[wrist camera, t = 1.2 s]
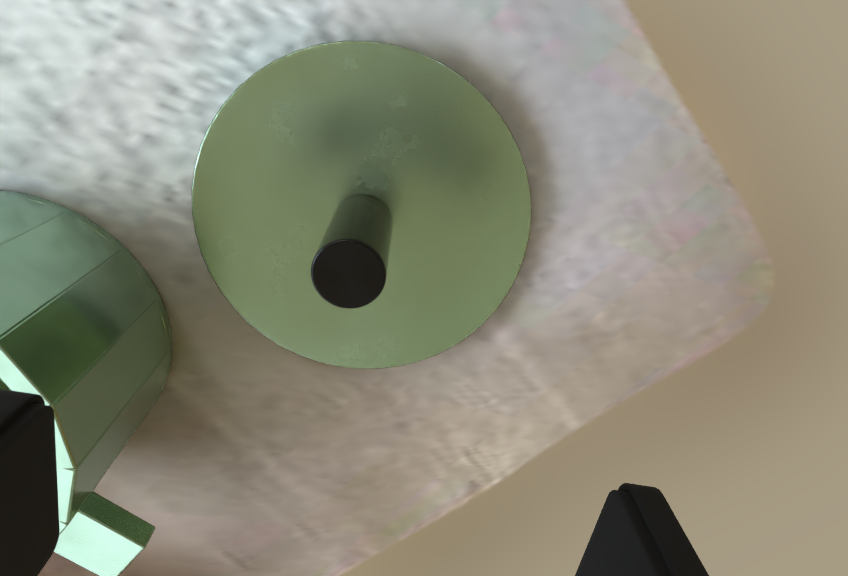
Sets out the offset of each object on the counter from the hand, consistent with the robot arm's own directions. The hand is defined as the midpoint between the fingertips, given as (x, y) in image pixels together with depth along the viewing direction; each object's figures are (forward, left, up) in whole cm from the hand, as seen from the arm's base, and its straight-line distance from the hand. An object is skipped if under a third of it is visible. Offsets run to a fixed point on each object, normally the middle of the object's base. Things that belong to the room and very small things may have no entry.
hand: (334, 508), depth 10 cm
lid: (0, -1, -16) cm, 16 cm away
